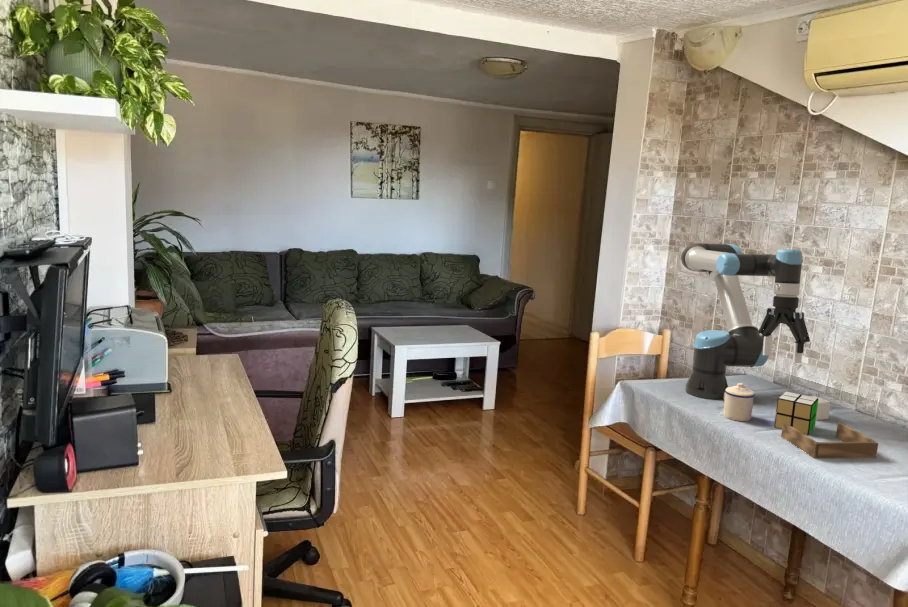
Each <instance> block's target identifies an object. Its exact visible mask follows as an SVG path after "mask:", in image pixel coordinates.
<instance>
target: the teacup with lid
mask: <svg viewBox="0 0 908 607" xmlns="http://www.w3.org/2000/svg"><path fill="white" fill-rule="evenodd" d="M755 395H756V394H755V392H754V391H753V390H751V389H749V388H747V387H746V386H745V385H744V383H742V382H738V383H737V384H736V385H733V386H728V388H726V390H725V393H724V398H723V400H724V401H723V402H724V405H723V414H722V415H723V416H724V417H725V418H727V419H729V420H733V421H738V422H748V421H750V420H751V419H752V413H753V403H754V397H755Z"/></svg>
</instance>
